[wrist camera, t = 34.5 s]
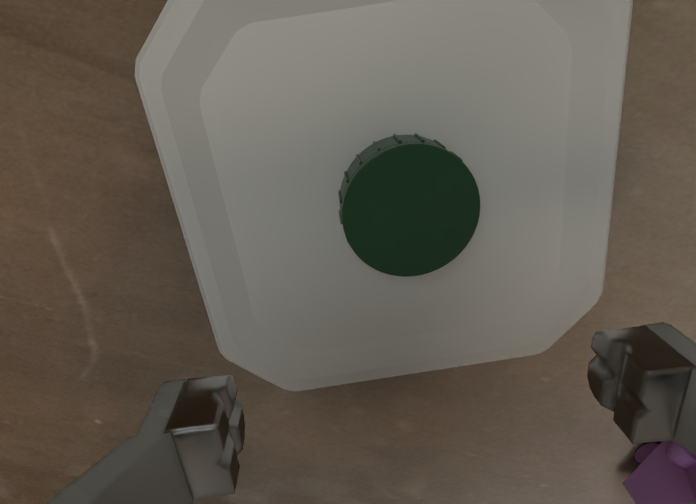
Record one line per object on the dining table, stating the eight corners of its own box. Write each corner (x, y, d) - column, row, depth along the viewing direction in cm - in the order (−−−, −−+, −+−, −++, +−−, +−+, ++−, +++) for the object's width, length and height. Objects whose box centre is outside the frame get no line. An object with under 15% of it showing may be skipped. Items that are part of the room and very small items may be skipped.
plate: (239, 378, 27) (233, 405, 25) (123, -15, 19) (101, -23, 17) (579, 326, 27) (600, 348, 25) (613, -88, 19) (648, -105, 17)
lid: (360, 115, 20) (366, 123, 17) (485, 154, 21) (504, 166, 18) (322, 239, 22) (323, 259, 20) (437, 269, 23) (450, 291, 21)
